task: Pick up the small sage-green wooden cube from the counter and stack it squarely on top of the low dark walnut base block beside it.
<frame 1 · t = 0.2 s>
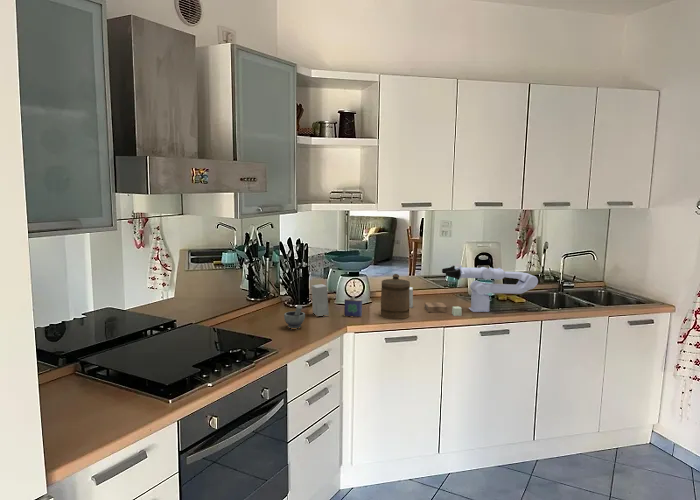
hand: (444, 272, 290), 21 cm above the countertop, tool horizontal, fingers open, 7 cm apart
cube: (456, 314, 284), on the countertop
wooden container: (394, 316, 281), on the countertop
base block: (435, 310, 294), on the countertop
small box: (405, 306, 301), on the countertop
mortar and pestle: (295, 328, 256), on the countertop
skincare box: (319, 315, 280), on the countertop
flask: (352, 316, 278), on the countertop
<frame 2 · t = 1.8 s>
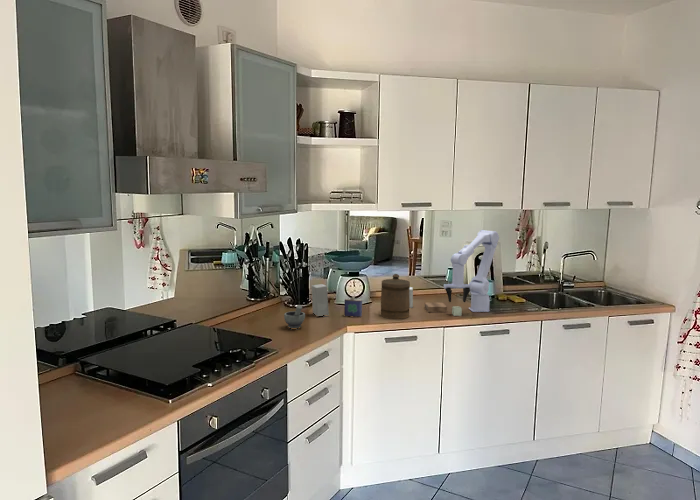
hand: (457, 301, 283), 7 cm above the countertop, tool pointing down, fingers open, 7 cm apart
nothing on the countertop moved.
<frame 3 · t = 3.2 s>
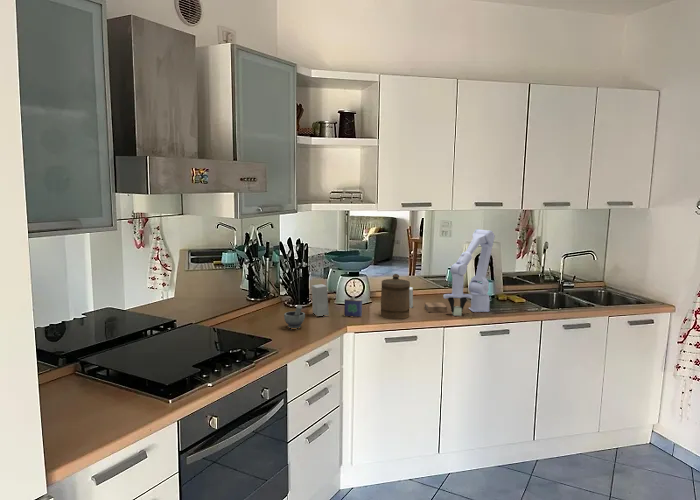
hand: (456, 311, 284), 2 cm above the countertop, tool pointing down, fingers closed on cube, 4 cm apart
cube: (456, 314, 284), on the countertop, touching gripper
everything else where it was.
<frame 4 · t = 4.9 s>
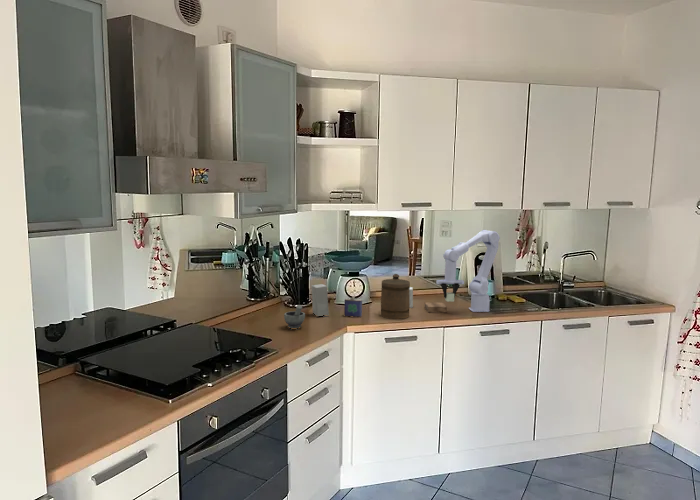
hand: (449, 297, 286), 8 cm above the countertop, tool pointing down, fingers closed on cube, 4 cm apart
cube: (449, 300, 287), point 7 cm above the countertop, touching gripper
everything else where it was.
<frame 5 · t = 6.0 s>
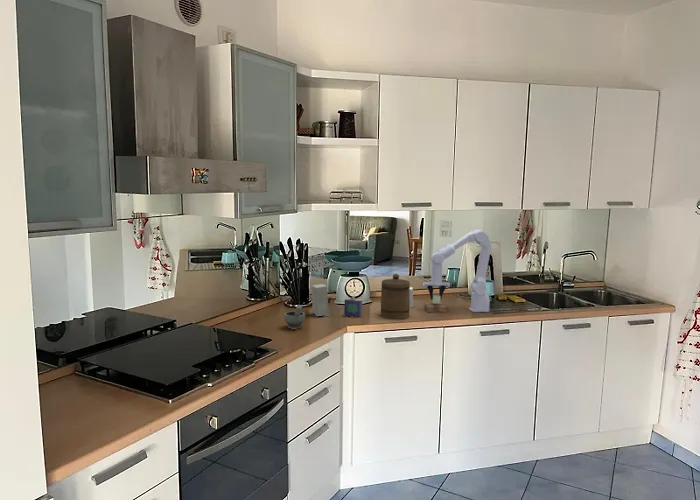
hand: (435, 299, 293), 6 cm above the countertop, tool pointing down, fingers closed on cube, 4 cm apart
cube: (435, 302, 293), point 4 cm above the countertop, touching gripper
everything else where it was.
when the fingers open (6 cm above the countertop, at t = 6.7 s): cube drops 1 cm, resting on base block.
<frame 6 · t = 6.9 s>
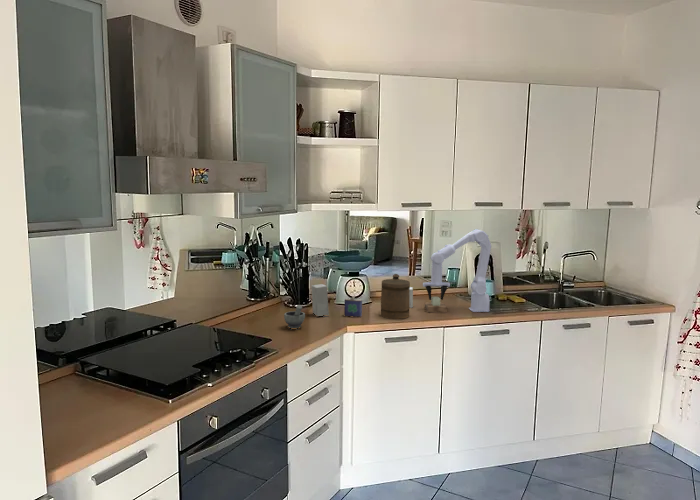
hand: (435, 299, 293), 6 cm above the countertop, tool pointing down, fingers open, 6 cm apart
cube: (435, 304, 293), point 3 cm above the countertop, touching base block
everything else where it was.
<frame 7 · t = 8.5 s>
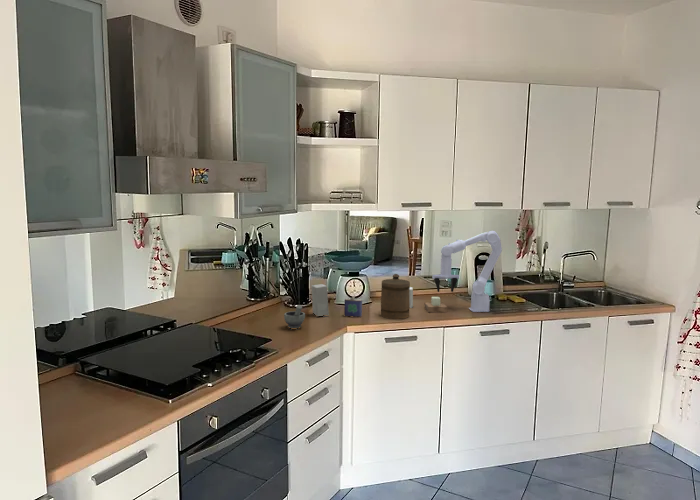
hand: (445, 291, 297), 9 cm above the countertop, tool pointing down, fingers open, 7 cm apart
nothing on the countertop moved.
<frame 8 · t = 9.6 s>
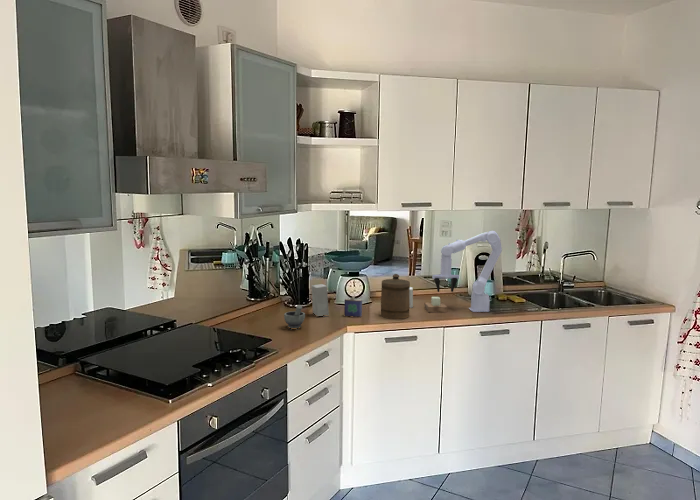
hand: (445, 291, 297), 9 cm above the countertop, tool pointing down, fingers open, 7 cm apart
nothing on the countertop moved.
at the end: cube 0.1 cm off-centre on the base block, point 3.0 cm above the base block's base; cube tilted 0°; cube touching base block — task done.
